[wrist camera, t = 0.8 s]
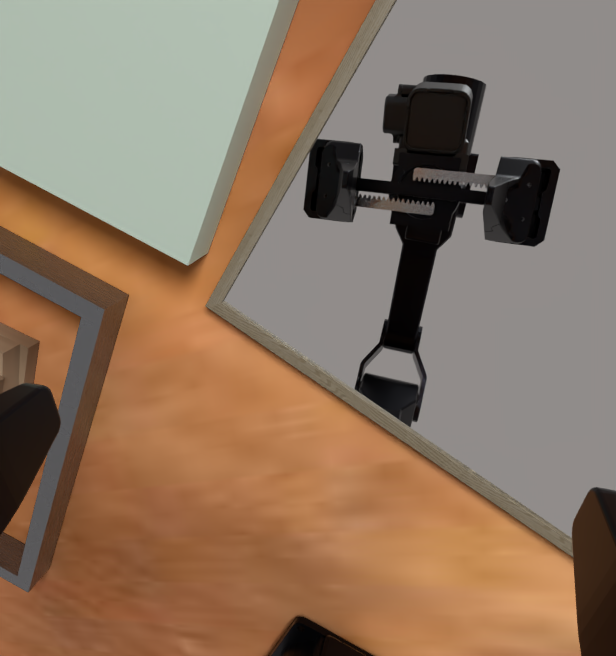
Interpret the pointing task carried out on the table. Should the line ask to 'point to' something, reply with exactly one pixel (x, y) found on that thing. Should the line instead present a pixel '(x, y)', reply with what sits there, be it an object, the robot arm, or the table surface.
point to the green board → (137, 106)
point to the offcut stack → (16, 358)
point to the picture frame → (457, 245)
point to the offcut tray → (77, 398)
